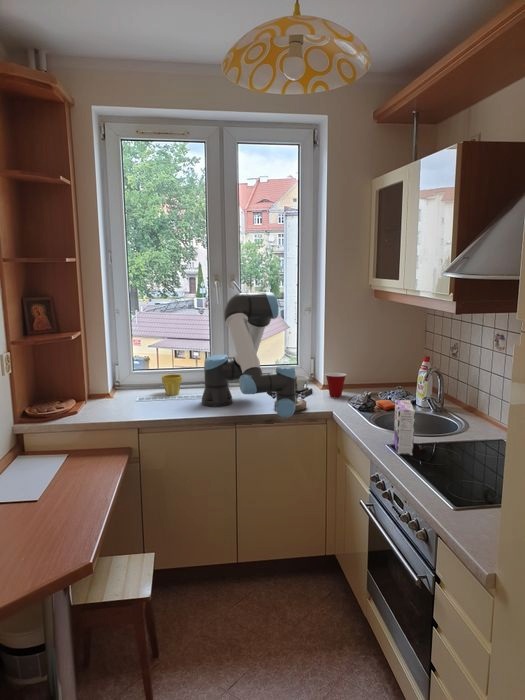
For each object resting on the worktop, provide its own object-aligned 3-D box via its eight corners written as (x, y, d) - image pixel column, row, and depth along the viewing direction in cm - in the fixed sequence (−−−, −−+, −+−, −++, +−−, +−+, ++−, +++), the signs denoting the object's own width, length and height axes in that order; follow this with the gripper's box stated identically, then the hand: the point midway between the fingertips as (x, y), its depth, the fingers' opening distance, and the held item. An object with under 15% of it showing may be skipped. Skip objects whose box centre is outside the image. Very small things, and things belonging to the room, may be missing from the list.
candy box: (393, 441, 187) (394, 399, 184) (409, 441, 186) (411, 399, 183) (396, 454, 174) (397, 409, 171) (413, 455, 173) (415, 410, 170)
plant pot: (170, 390, 267) (169, 373, 265) (186, 392, 262) (185, 374, 261) (158, 395, 258) (157, 377, 256) (174, 397, 253) (174, 378, 251)
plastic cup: (345, 393, 257) (345, 371, 255) (346, 399, 247) (347, 375, 245) (324, 393, 258) (324, 371, 256) (325, 398, 248) (325, 375, 246)
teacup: (313, 391, 263) (314, 376, 262) (299, 395, 254) (299, 380, 253) (291, 386, 273) (291, 372, 272) (277, 391, 264) (277, 376, 262)
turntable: (270, 403, 236) (270, 399, 236) (298, 400, 241) (298, 396, 240) (281, 412, 222) (281, 407, 222) (311, 408, 227) (311, 404, 227)
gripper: (257, 407, 206) (263, 394, 226) (317, 408, 203) (317, 395, 224) (257, 389, 204) (263, 378, 225) (317, 390, 202) (317, 379, 222)
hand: (290, 386), depth 224 cm, fingers open, 13 cm apart
